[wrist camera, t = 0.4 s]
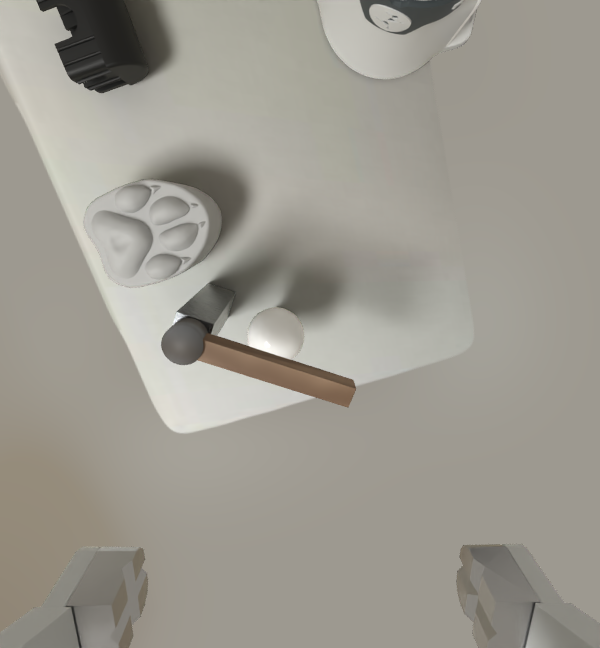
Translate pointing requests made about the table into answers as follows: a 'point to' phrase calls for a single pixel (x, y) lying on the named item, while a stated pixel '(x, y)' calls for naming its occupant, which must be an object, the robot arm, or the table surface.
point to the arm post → (208, 307)
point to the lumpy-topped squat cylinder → (152, 230)
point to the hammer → (252, 362)
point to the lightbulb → (276, 332)
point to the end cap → (99, 43)
